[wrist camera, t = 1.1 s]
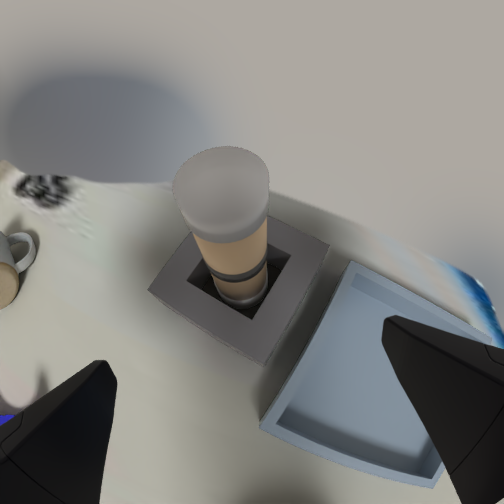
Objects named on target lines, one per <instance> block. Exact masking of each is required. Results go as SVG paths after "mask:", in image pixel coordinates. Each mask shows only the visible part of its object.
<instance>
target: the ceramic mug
mask: <svg viewBox="0 0 504 504" xmlns="http://www.w3.org/2000/svg"><path fill="white" fill-rule="evenodd" d="M18 242H28V243H29V245H30V250H29V252H28V254H27V255H26V256H25V257H24V258H23V259H22V260H21V261H19V262H17V263H16V264H15V262H14V259H13V257H12V254H11V250H10V246H11V245H13V244H15V243H18ZM35 254H36V247H35V244H34V242H33V239H32V237H31V236H30V235H29V234H28V233H24V232H19V233H14V234H11V235H9V236H7V237H5V235H4V234H3V233H2V232H1V231H0V309H2V308H4V307H6V306H8V305H9V304H10V303H11V302H12V301H13V299H14V298H15V296H16V294H17V291H18V288H19V278H18V275H19V273H20V272H22V271H24V270H25V269H26V268H27V267H28V266H29V265H30V264H31V263H32V262H33V260H34V258H35Z"/></svg>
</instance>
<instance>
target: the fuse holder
mask: <svg viewBox="0 0 504 504" xmlns="http://www.w3.org/2000/svg"><path fill="white" fill-rule="evenodd" d="M267 243H268V251H267V263H269V264H271V265H273V266H275V267H277V268H278V269H280V270H282V272H281V273H280V275H279V277H278V278H277V280H276V282H275V283H274V285H273V287H272V288H271V290H270V292H269V293H268V295H267V297H266V298H265V300H264V301H263V303H262V305H261V306H260V308H259V310H258V311H257V313H256V315H255V316H254V318H253V319H252V320H251V319H249V318H248V317H246V316H244V315H242V314H241V313H239V312H237V311H235V310H234V309H232V308H230V307H229V306H227V305H225V304H224V303H222V302H220V301H219V300H217V299H215V298H214V297H212V296H210V295H209V294H207V293H205V292H204V291H202V290H201V289H202V288H203V286H204V285H205V283H206V282H207V280H208V279H209V277H210V276H211V273H210V271H209V270H208V268H207V266H206V264H205V262H204V260H203V257H202V254H201V251H200V249H199V247H198V244H197V242H196V240H195V238H194V235H193V233H192V232H190V233H189V234H188V236H187V237H186V238H185V240H184V241H183V242H182V244H181V245H180V246H179V247H178V249H177V250H176V251H175V253H174V254H173V255H172V257H171V258H170V259H169V261H168V262H167V263H166V265H165V266H164V267H163V269H162V270H161V272H160V273H159V274H158V276H157V277H156V278H155V280H154V281H153V283H152V284H151V285H150V287H149V288H148V291H149V292H150V293H152V294H153V295H154V296H155V297H156V298H157V299H158V300H159V301H161V302H162V303H163V304H164V305H166V306H167V307H169V308H170V309H172V310H173V311H174V312H176V313H177V314H179V315H180V316H182V317H183V318H185V319H186V320H188V321H189V322H191V323H192V324H194V325H195V326H197V327H198V328H200V329H201V330H203V331H205V332H206V333H208V334H209V335H211V336H212V337H214V338H216V339H217V340H219V341H220V342H222V343H224V344H225V345H227V346H229V347H230V348H232V349H234V350H235V351H237V352H239V353H240V354H242V355H244V356H245V357H247V358H249V359H251V360H252V361H254V362H256V363H258V364H259V365H261V366H263V367H264V366H265V364H266V363H267V361H268V359H269V358H270V356H271V355H272V353H273V351H274V350H275V348H276V346H277V344H278V343H279V341H280V339H281V338H282V336H283V334H284V333H285V331H286V329H287V327H288V326H289V324H290V322H291V320H292V319H293V317H294V315H295V313H296V311H297V310H298V308H299V306H300V304H301V302H302V301H303V299H304V297H305V295H306V293H307V291H308V289H309V288H310V286H311V284H312V282H313V280H314V278H315V276H316V274H317V272H318V270H319V269H320V267H321V265H322V262H323V260H324V258H325V255H326V253H327V251H328V248H329V246H330V245H328V244H326V243H324V242H322V241H320V240H318V239H316V238H314V237H312V236H310V235H308V234H306V233H304V232H302V231H300V230H297V229H295V228H293V227H291V226H289V225H287V224H285V223H283V222H281V221H279V220H276V219H274V218H272V217H270V216H268V215H267Z"/></svg>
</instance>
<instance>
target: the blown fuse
mask: <svg viewBox="0 0 504 504" xmlns="http://www.w3.org/2000/svg"><path fill="white" fill-rule="evenodd" d="M173 194H174V197H175V199H176V202H177V204H178V206H179V209H180V211H181V213H182V215H183V218H184V220H185V222H186V224H187V226H188V228H189V229H190V230H191V232H192V233H193V235H194V238H195V240H196V242H197V244H198V247H199V249H200V251H201V254H202V257H203V260H204V262H205V264H206V266H207V268H208V270H209V271H210V273H211V275H212V277H213V279H214V284H215V287H216V289H217V291H218V293H219V295H220V297H221V298H222V300H223V301H224V302H225V303H226V304H227V305H229V306H231V307H233V308H237V309H247V308H251V307H253V306H255V305H257V304H258V303H259V302H261V300H262V299H263V298H264V296H265V294H266V292H267V287H268V272H267V251H268V243H267V214H268V210H269V172H268V169H267V167H266V165H265V163H264V162H263V161H262V159H261V158H259V157H258V156H257V155H256V154H254V153H252V152H251V151H248V150H245V149H242V148H238V147H216V148H211V149H208V150H205V151H202V152H200V153H198V154H196V155H194V156H193V157H191V158H190V159H188V160H187V161H186V162H185V163H184V164H183V165H182V166H181V168H180V169H179V170H178V172H177V174H176V176H175V178H174V181H173Z"/></svg>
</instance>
